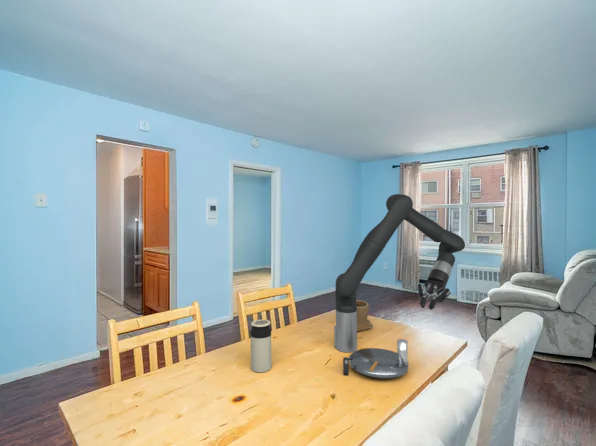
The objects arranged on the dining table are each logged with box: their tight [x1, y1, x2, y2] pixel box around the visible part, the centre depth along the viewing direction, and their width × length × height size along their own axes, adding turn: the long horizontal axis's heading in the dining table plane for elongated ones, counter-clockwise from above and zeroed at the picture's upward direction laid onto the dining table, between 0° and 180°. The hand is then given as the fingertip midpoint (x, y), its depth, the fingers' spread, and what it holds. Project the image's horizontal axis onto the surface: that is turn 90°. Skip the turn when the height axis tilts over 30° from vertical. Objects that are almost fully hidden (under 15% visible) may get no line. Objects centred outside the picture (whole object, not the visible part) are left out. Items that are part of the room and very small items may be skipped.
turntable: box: [348, 338, 409, 379], centre depth 122 cm, size 22×22×10 cm
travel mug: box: [250, 319, 273, 373], centre depth 124 cm, size 8×8×18 cm
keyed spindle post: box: [342, 356, 353, 377], centre depth 120 cm, size 13×19×6 cm, turn 131°
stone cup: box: [356, 299, 374, 332], centre depth 166 cm, size 15×12×15 cm
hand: (426, 307), depth 128 cm, fingers open, 3 cm apart
